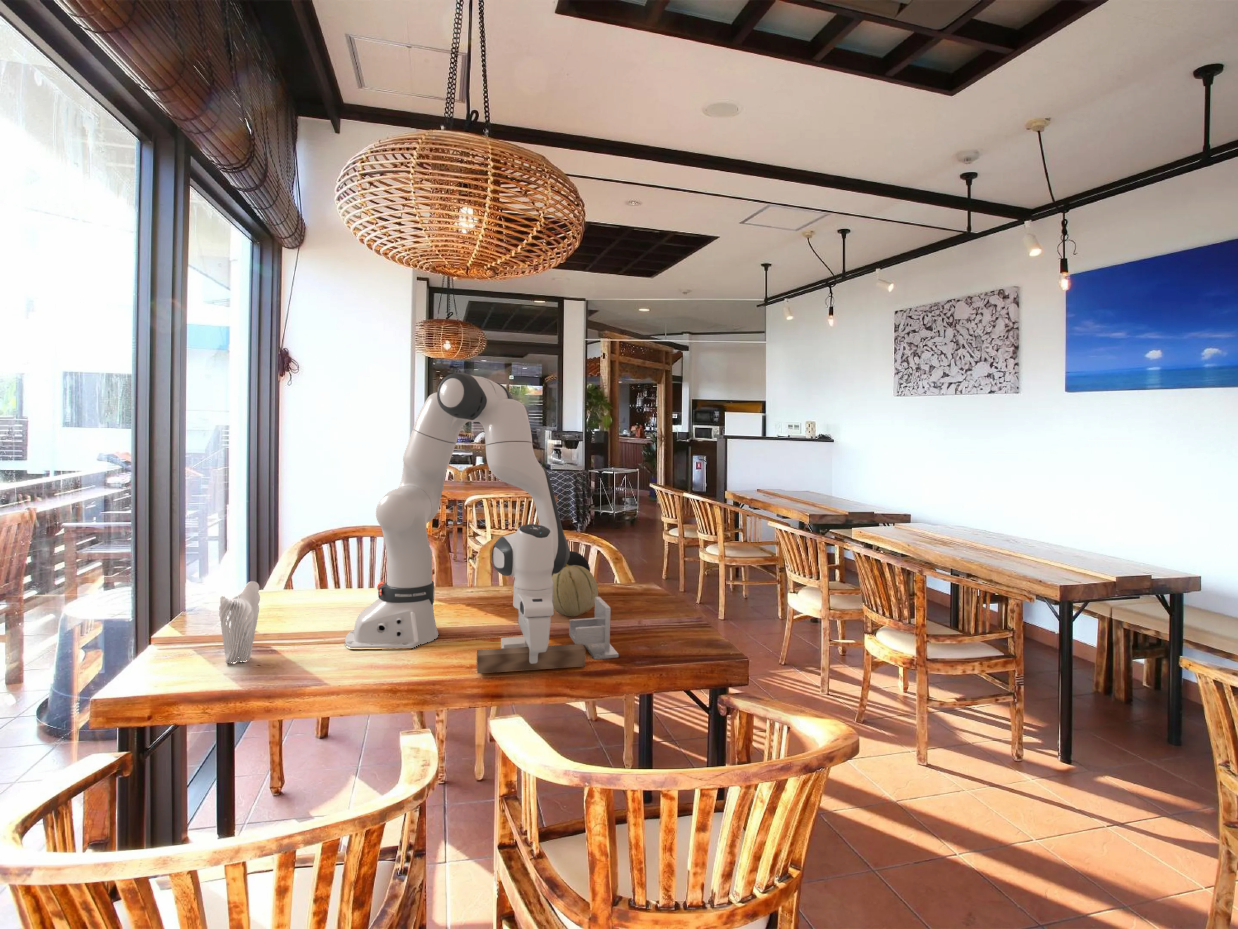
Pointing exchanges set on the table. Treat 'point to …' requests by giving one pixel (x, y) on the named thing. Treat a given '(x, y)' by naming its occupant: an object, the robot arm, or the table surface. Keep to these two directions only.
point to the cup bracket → (594, 632)
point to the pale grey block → (513, 642)
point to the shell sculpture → (239, 622)
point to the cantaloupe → (574, 590)
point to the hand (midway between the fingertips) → (531, 658)
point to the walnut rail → (520, 658)
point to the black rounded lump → (577, 560)
